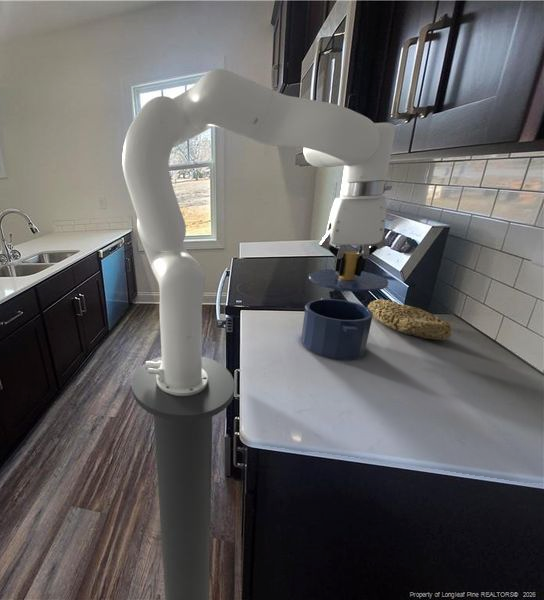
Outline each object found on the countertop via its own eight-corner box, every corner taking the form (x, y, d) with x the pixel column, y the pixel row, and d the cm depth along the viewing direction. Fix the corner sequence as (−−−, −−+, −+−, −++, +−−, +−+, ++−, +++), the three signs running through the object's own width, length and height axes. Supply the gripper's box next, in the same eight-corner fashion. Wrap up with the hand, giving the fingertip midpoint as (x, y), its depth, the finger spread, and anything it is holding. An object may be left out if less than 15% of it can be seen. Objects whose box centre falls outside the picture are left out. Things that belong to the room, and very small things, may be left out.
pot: (311, 363, 77) (317, 324, 73) (294, 327, 95) (298, 295, 91) (379, 368, 74) (389, 327, 70) (348, 329, 92) (355, 296, 88)
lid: (317, 293, 69) (322, 261, 66) (302, 273, 83) (305, 246, 80) (401, 295, 65) (409, 261, 62) (370, 273, 79) (376, 245, 76)
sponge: (359, 319, 100) (401, 337, 81) (366, 295, 99) (410, 307, 79) (404, 327, 99) (457, 346, 79) (411, 302, 97) (467, 316, 78)
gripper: (398, 187, 68) (380, 270, 74) (314, 191, 72) (304, 269, 78) (417, 189, 61) (396, 279, 68) (323, 193, 65) (312, 278, 72)
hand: (347, 273), depth 73 cm, fingers closed on lid, 3 cm apart
